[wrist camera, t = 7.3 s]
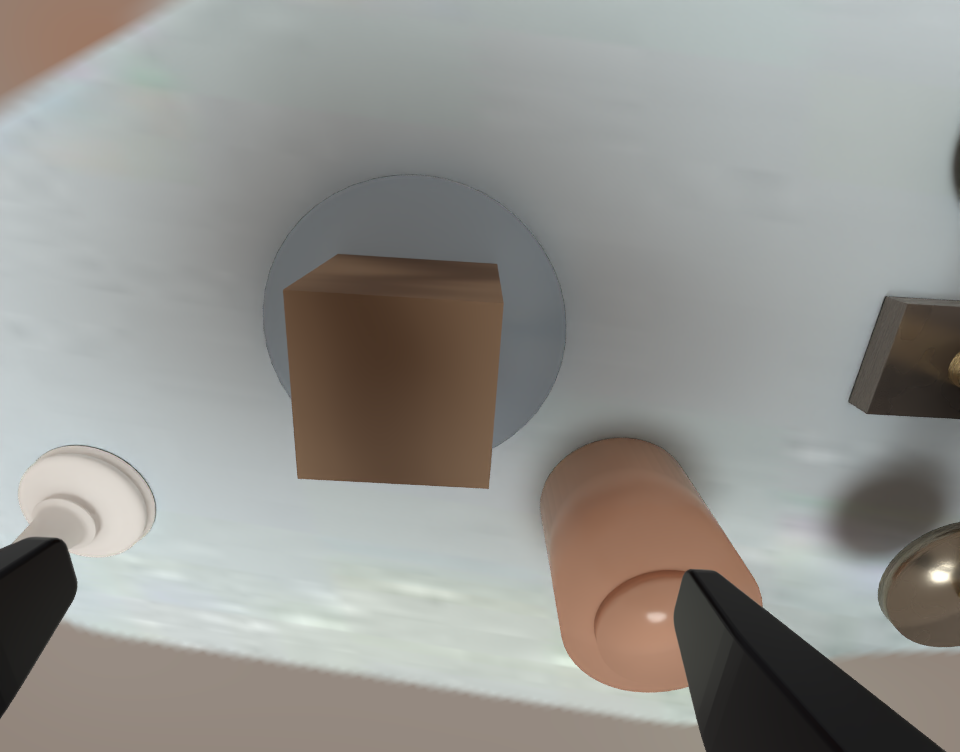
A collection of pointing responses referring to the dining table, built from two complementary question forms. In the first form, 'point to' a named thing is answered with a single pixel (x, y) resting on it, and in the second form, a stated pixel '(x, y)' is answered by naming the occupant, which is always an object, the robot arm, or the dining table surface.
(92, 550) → the chess piece
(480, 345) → the walnut block
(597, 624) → the terracotta lidded jar
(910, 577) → the balance
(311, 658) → the dining table surface
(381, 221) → the disc
